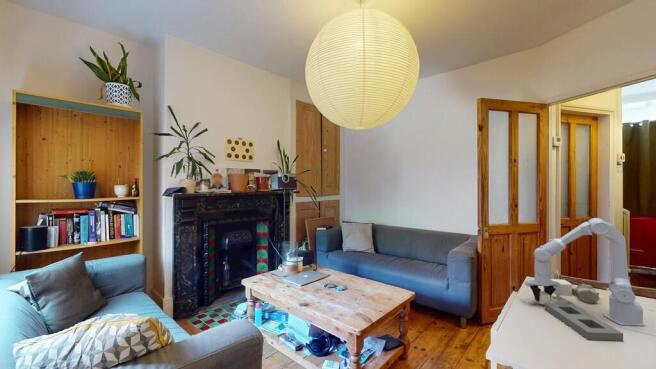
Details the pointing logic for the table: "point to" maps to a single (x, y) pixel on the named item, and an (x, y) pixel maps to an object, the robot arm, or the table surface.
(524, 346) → the table surface
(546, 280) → the robot arm
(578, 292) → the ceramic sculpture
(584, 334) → the socket board
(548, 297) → the plug
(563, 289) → the security camera
